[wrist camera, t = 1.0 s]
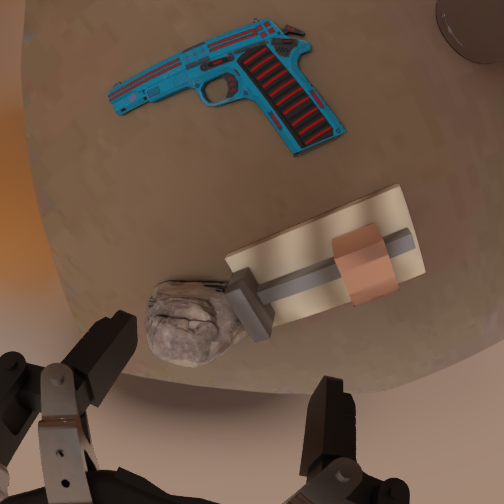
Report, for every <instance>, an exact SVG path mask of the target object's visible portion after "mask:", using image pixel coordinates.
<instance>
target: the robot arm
mask: <svg viewBox="0 0 504 504" xmlns="http://www.w3.org/2000/svg"><path fill="white" fill-rule="evenodd" d="M436 17H437V21H438V25H439V27H440V29H441V32H442V34H443V35H444V37H445V38H446V40H447V41H448V43H449V44H450V45H451V46H452V47H453V48H454V49H455V50H456V51H457V52H458V53H459V54H460V55H462V56H463V57H465V58H466V59H468V60H470V61H472V62H476V63H480V64H488V63H494V62H500V61H504V0H438V2H437V7H436ZM137 342H138V338H137V318H136V316H134V315H132V314H129V313H127V312H124V311H122V310H119V311H117V312H116V313H115V315H114V316H113V317H112V318H111V319H110V318H107V317H105V318H103V319H101V320H99V321H97V322H95V324H94V325H93V326H92V327H91V328H90V329H89V331H88V332H87V333H86V334H85V335H84V336H83V338H81V340H80V341H79V342H78V343H77V344H76V346H75V347H74V348H73V349H72V350H71V351H70V353H69V354H68V355H67V356H66V357H65V359H64V360H63V361H62V362H61V363H52V364H50V365H48V366H46V367H41V366H37V365H33V364H29V363H26V361H25V358H24V357H23V355H21V354H20V353H18V352H13V351H11V352H7V353H5V354H3V355H2V356H1V357H0V504H219V503H215V502H212V501H208V500H205V499H201V498H192V497H183V496H175V495H170V494H168V493H166V492H164V491H162V490H161V489H160V488H158V487H157V486H155V485H154V484H152V483H151V482H149V481H148V480H147V479H145V478H143V477H141V476H139V475H136V474H134V473H132V472H129V471H127V470H125V469H123V468H121V467H119V468H118V470H117V471H112V470H100V469H99V465H98V462H97V458H96V456H95V453H94V449H93V445H92V440H91V435H90V430H89V424H88V418H87V412H86V409H87V407H88V406H89V405H90V404H92V405H94V406H96V407H99V405H100V404H101V402H102V401H103V399H104V397H105V396H106V394H107V393H108V391H109V390H110V388H111V387H112V385H113V384H114V382H115V381H116V379H117V377H118V376H119V374H120V373H121V372H122V370H123V369H124V367H125V366H126V364H127V363H128V361H129V360H130V358H131V357H132V355H133V354H134V352H135V350H136V347H137ZM39 412H41V413H42V420H41V421H39V422H38V436H39V446H40V454H41V463H42V470H43V476H44V482H45V487H42V488H38V489H35V490H31V491H28V492H24V493H20V494H16V495H13V496H8V493H7V487H8V486H9V473H8V470H7V468H6V467H7V466H8V464H9V462H10V460H11V459H12V457H13V455H14V453H15V451H16V450H17V448H18V447H19V445H20V443H21V441H22V440H23V438H24V436H25V435H26V433H27V431H28V430H29V428H30V427H31V425H32V423H33V422H34V420H35V419H36V417H37V415H38V414H39ZM355 416H356V409H355V403H354V400H353V398H352V396H351V394H349V393H344V392H343V380H342V379H339V378H334V377H330V376H324V377H323V378H322V380H321V381H320V383H319V385H318V386H317V388H316V390H315V391H314V393H313V394H312V396H311V398H310V401H309V404H308V409H307V417H306V426H305V435H304V443H303V451H302V458H301V465H300V473H299V475H301V476H306V477H307V481H306V484H305V485H304V486H303V487H302V488H301V489H299V490H298V491H297V492H296V493H295V494H294V495H292V496H291V497H290V498H289V499H287V500H286V501H285V502H284V503H282V504H409V500H410V492H409V488H408V486H407V484H406V483H405V482H404V481H403V480H400V479H398V478H389V479H387V480H385V481H381V480H379V479H377V478H374V477H372V476H369V475H367V474H366V473H364V472H363V471H362V469H361V467H360V466H359V464H358V463H357V461H356V426H355V425H356V418H355Z"/></svg>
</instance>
